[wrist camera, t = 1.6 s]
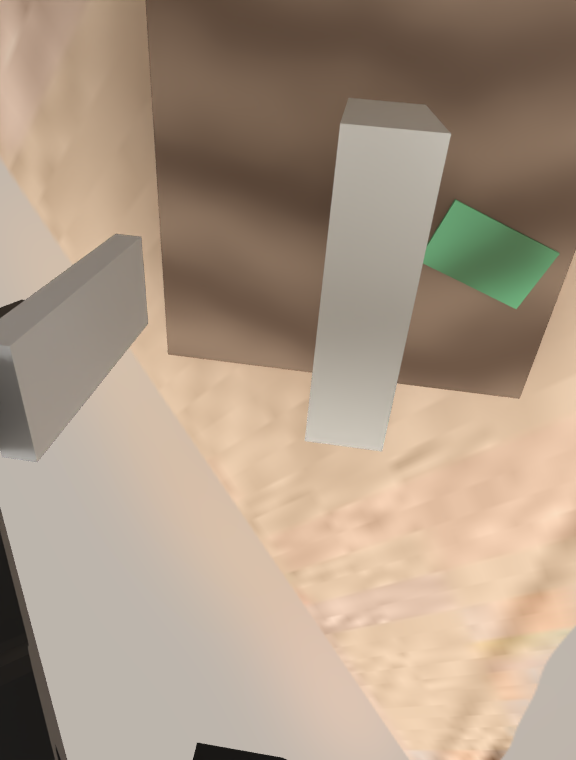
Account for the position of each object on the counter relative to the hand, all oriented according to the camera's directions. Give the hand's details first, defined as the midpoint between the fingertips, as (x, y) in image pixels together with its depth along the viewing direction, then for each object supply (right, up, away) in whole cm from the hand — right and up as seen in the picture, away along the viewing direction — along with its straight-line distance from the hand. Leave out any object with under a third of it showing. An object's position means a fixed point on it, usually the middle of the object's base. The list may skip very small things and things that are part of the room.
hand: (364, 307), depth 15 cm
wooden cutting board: (+2, +8, +11) cm, 14 cm away
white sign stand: (+1, +4, +10) cm, 11 cm away
